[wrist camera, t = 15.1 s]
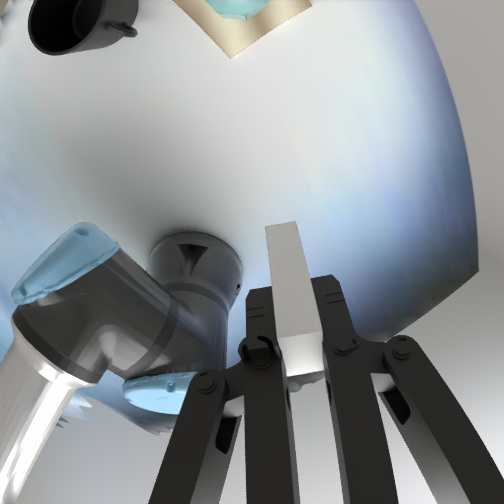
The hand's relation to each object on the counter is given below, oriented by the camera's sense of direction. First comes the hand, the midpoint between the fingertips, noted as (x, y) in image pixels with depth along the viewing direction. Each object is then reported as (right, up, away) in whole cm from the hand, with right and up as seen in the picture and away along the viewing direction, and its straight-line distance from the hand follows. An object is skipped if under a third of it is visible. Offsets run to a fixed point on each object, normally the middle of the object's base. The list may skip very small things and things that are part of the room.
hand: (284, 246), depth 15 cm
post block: (-3, +27, +8) cm, 28 cm away
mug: (-18, +27, +9) cm, 34 cm away
